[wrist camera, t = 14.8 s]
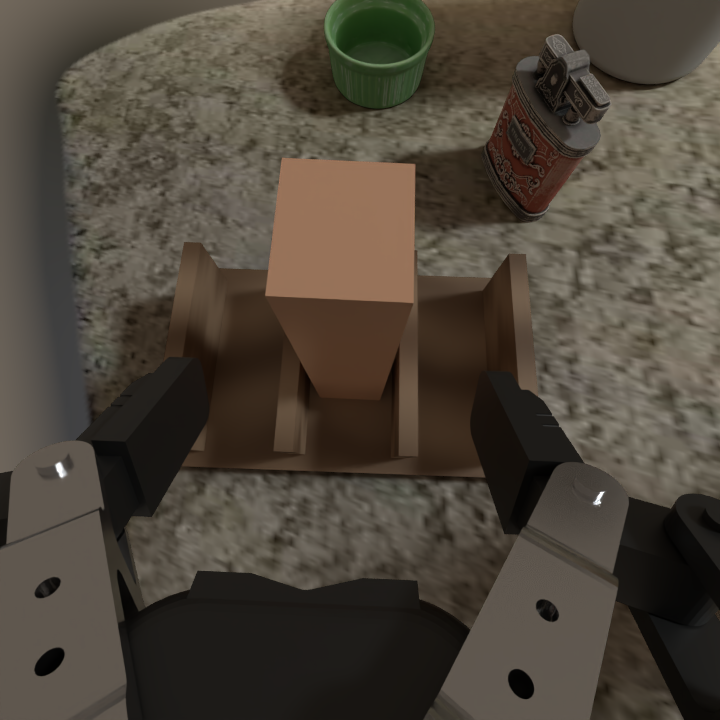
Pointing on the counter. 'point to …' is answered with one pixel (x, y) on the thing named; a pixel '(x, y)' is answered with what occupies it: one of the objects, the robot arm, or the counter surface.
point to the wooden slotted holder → (336, 415)
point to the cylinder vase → (647, 36)
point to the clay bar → (343, 269)
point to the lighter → (544, 127)
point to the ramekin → (378, 49)
